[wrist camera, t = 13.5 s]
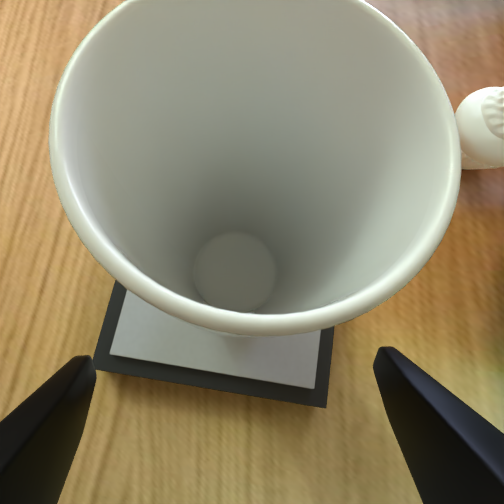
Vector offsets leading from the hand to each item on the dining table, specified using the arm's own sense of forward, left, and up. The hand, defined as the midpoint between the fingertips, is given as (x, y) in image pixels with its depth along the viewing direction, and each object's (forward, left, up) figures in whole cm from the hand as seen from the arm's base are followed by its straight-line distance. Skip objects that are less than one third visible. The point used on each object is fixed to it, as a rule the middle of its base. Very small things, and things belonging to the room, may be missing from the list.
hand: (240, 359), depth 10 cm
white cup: (+4, +1, -9) cm, 10 cm away
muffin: (+18, -16, -12) cm, 27 cm away
